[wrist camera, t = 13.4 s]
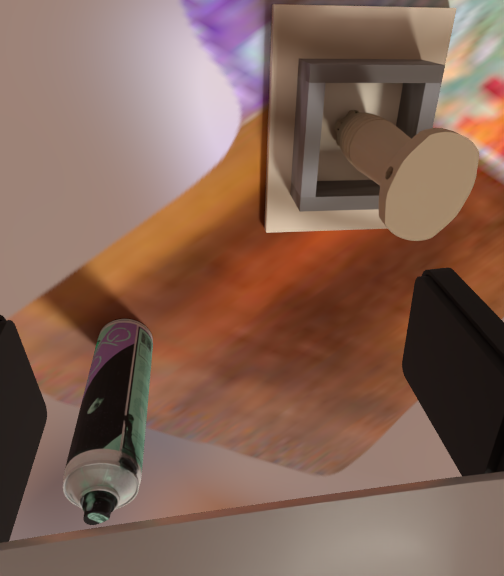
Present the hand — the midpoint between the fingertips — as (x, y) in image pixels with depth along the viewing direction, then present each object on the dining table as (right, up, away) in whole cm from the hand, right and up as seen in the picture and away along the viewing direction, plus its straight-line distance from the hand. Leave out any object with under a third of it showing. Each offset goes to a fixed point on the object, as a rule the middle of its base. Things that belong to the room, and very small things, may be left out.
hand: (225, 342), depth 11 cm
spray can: (-12, -4, +38) cm, 40 cm away
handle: (+9, +15, +29) cm, 34 cm away
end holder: (+9, +15, +30) cm, 34 cm away
